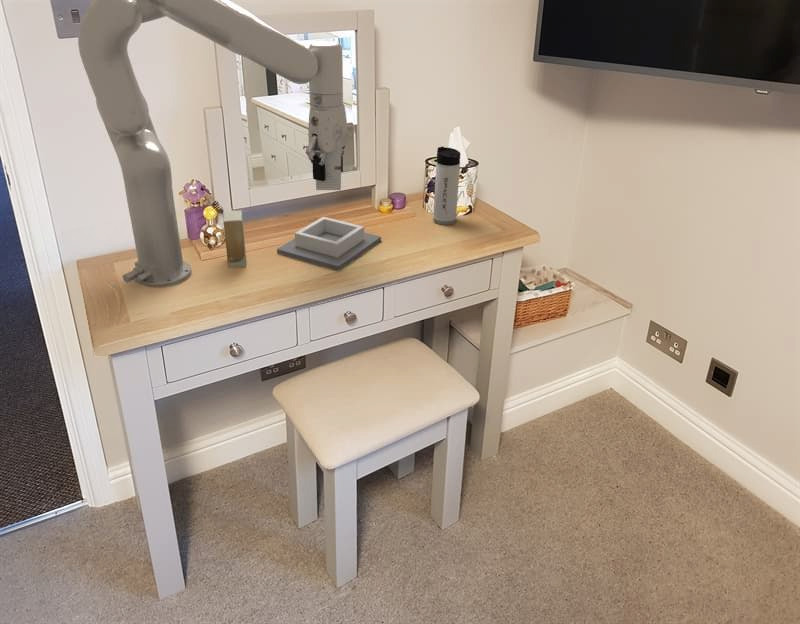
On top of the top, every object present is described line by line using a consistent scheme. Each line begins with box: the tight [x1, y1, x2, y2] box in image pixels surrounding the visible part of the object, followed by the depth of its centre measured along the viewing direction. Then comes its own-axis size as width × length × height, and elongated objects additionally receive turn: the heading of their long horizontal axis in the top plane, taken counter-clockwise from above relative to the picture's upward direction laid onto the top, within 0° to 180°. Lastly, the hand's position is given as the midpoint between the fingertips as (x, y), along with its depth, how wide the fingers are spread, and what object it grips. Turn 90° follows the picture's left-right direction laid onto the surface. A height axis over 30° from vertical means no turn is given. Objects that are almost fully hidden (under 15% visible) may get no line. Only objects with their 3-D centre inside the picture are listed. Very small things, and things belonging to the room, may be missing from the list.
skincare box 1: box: [222, 210, 248, 269], centre depth 162 cm, size 6×4×12 cm
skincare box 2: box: [315, 139, 342, 191], centre depth 163 cm, size 6×4×12 cm
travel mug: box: [432, 146, 461, 226], centre depth 186 cm, size 6×7×20 cm
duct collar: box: [276, 216, 382, 271], centre depth 173 cm, size 20×18×5 cm
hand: (328, 174), depth 165 cm, fingers closed on skincare box 2, 6 cm apart
